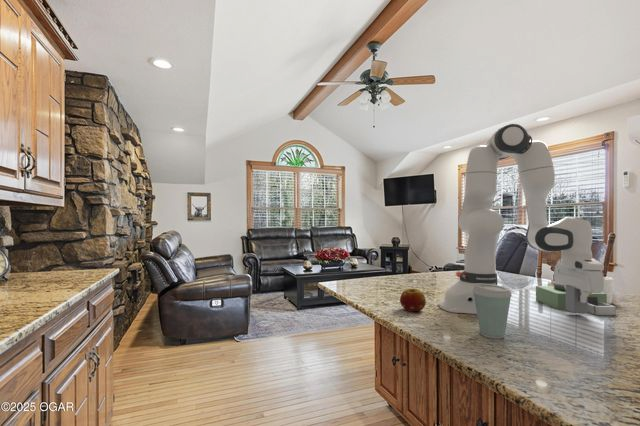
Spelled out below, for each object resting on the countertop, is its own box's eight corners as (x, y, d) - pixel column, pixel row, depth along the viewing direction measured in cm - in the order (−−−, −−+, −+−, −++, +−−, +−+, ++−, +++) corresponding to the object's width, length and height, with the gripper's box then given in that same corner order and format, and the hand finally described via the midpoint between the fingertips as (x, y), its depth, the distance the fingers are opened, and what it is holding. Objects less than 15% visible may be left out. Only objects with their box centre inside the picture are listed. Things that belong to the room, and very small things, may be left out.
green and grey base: (571, 314, 117) (570, 292, 118) (535, 299, 139) (535, 281, 139) (623, 315, 116) (623, 292, 116) (579, 300, 138) (579, 281, 138)
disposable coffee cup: (505, 330, 102) (504, 282, 102) (519, 343, 91) (518, 290, 91) (469, 328, 104) (468, 281, 104) (478, 340, 93) (477, 288, 93)
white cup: (603, 299, 139) (603, 276, 139) (619, 304, 131) (618, 279, 131) (584, 299, 139) (583, 276, 140) (598, 304, 132) (597, 279, 132)
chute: (574, 313, 115) (574, 287, 115) (565, 309, 119) (565, 285, 119) (593, 313, 114) (593, 288, 114) (584, 310, 119) (584, 285, 119)
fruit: (398, 312, 122) (398, 291, 122) (401, 306, 130) (401, 286, 131) (425, 314, 118) (424, 293, 119) (426, 308, 127) (426, 288, 127)
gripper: (549, 258, 127) (549, 293, 127) (588, 265, 107) (587, 307, 107) (566, 258, 127) (566, 293, 127) (608, 266, 107) (608, 308, 106)
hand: (576, 300), depth 117 cm, fingers closed on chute, 4 cm apart
